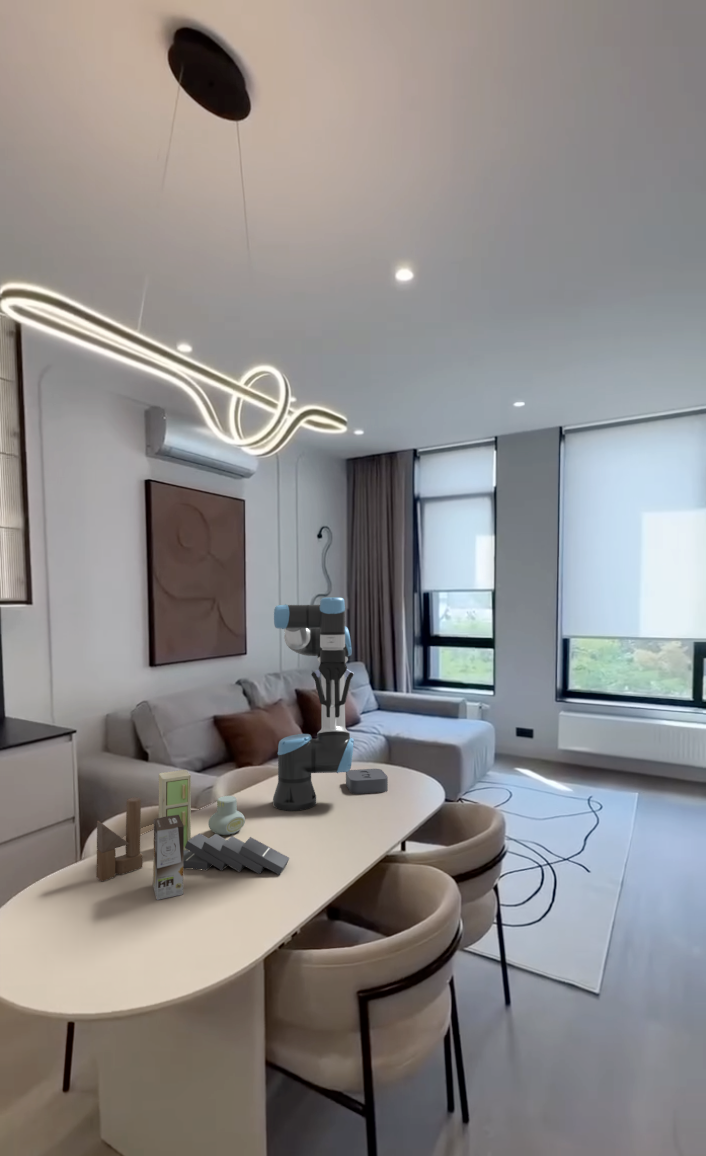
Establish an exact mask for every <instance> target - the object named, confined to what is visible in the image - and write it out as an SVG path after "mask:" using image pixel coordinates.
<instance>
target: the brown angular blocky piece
mask: <svg viewBox="0 0 706 1156" xmlns="http://www.w3.org/2000/svg"><path fill="white" fill-rule="evenodd" d="M125 804H126V805H125V807H126V809H125V810H126V812H125V839H123V838H122V837H121V835H119V834H117V833H116V832H114V831H113V830H112V829H110V828H109V827H108V826H107V825H105V824H103V823H102V822H101V821H100V820H97V821H96V875H95V876H96V878H97V880H99V881H100V882H104V881H107V880H108V881H109V880H110V879H114V878H115V877H116V875H124V874H125V875H126V874H127V873H131V872H134V871H137V870H139V869H142V868H143V853H141V819H142V818H141V815H142V814H141V813H142V812H141V811H142V808H141V807H142V799H141V797H139V796H135V797H130V798H127V799H126V803H125ZM122 847H125V854H122V855H119V856H116V853H117V852H116V850H117V849H118V848H122Z"/></svg>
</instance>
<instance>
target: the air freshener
mask: <svg viewBox="0 0 706 1156" xmlns="http://www.w3.org/2000/svg"><path fill="white" fill-rule="evenodd" d="M237 807H238V806H237V797H235V796H234V795H224V796H220V797H218V798H217V799H216V812H215V813H213V814H212V815H211V816H210V818H209V820H208V823H207V824H208V827H209V830H210V832H213V833H214V834H218V835H219V836H230V834H232V835H234V834H236V833H238V832H239V831H240V830H241V829H242V828H243V827H244V826H245V822H246V819H245V816H244V814H243V813H242V812H241V811H239V810H238V809H237Z"/></svg>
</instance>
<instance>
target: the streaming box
mask: <svg viewBox="0 0 706 1156" xmlns="http://www.w3.org/2000/svg"><path fill="white" fill-rule="evenodd" d="M388 783H389V782H388V776H387V774H386V773H385V772H384V770H383V769H380V768H363V769H350V770H349V771H348V772H345V786H346V787H348V788H347V789H348V791H349V792H350V793H351V794H356V795H359V794H361V795H362V794H374V793H376V792H378V793H386V792H387V791H388V789H389V787H388V786H389V785H388ZM385 791H386V792H385Z"/></svg>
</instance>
